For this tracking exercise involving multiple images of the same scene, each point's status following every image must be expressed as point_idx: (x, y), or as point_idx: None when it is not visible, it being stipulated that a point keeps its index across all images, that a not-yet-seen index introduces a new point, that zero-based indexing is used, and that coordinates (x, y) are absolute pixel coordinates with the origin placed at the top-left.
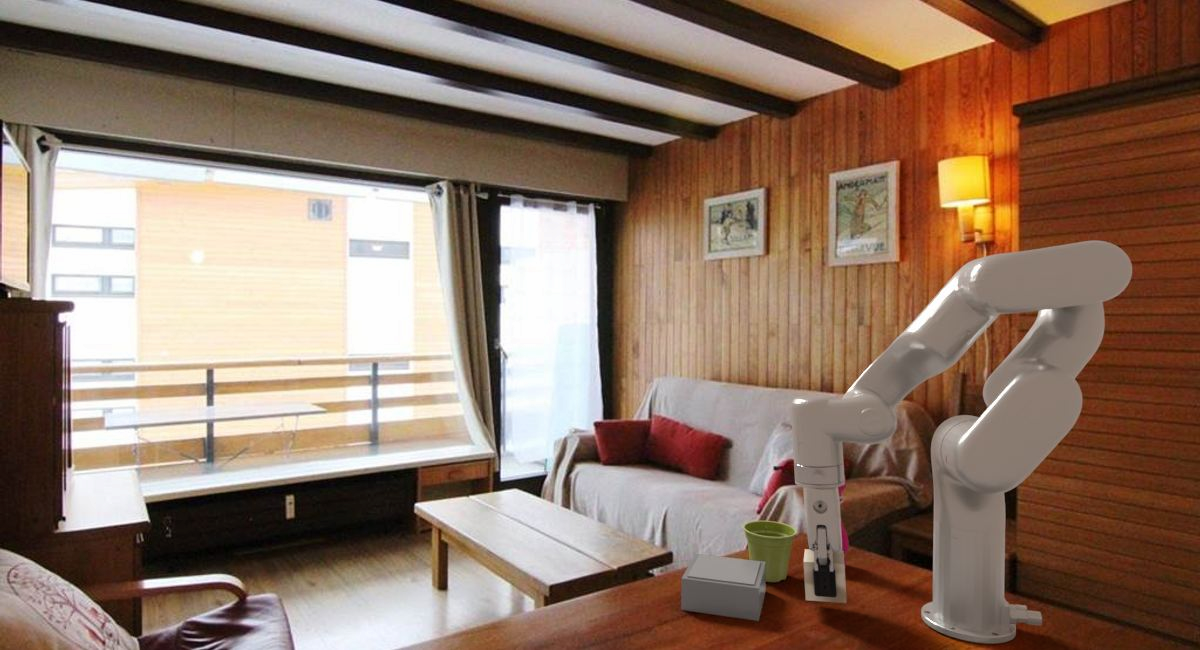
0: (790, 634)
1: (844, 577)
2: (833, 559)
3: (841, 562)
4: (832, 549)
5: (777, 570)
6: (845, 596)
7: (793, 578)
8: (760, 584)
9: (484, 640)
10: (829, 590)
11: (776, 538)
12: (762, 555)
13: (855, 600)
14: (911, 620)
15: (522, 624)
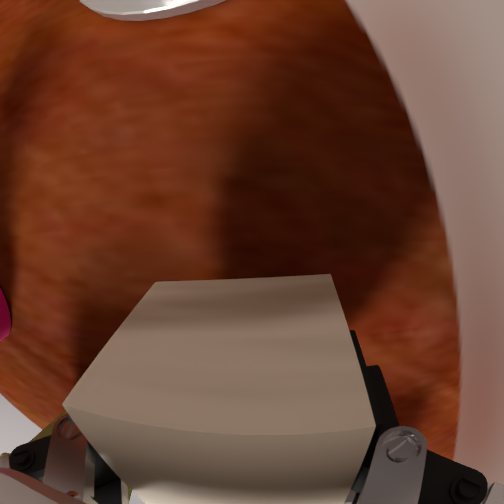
0: (434, 373)
1: (352, 353)
2: (272, 473)
3: (339, 443)
4: (86, 448)
5: None
6: (333, 291)
7: None
8: (348, 498)
9: None
10: (379, 371)
11: None
12: (130, 489)
13: (118, 227)
14: (206, 39)
15: None
